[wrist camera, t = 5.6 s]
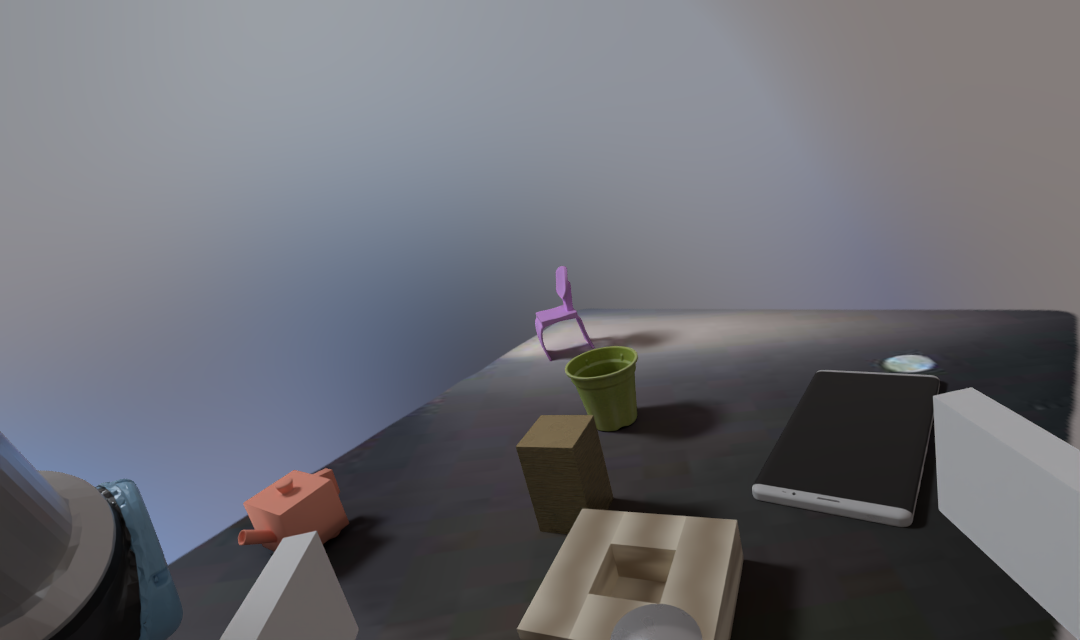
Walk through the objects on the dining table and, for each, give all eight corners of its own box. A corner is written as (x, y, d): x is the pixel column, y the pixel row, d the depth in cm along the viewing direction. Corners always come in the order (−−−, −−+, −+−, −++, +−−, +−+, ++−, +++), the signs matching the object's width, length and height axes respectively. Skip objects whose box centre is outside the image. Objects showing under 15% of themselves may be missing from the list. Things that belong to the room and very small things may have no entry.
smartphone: (941, 387, 69) (940, 373, 68) (912, 534, 49) (911, 517, 48) (817, 379, 77) (816, 367, 76) (751, 503, 57) (748, 488, 57)
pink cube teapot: (240, 573, 66) (210, 511, 64) (328, 507, 75) (305, 451, 73) (276, 591, 62) (246, 526, 59) (366, 519, 70) (343, 460, 68)
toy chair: (540, 349, 111) (520, 273, 106) (585, 336, 111) (567, 260, 107) (548, 364, 103) (527, 282, 98) (596, 350, 103) (577, 268, 99)
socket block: (530, 669, 45) (516, 628, 44) (591, 543, 57) (582, 508, 56) (718, 711, 39) (708, 665, 37) (743, 558, 50) (737, 520, 49)
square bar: (540, 531, 60) (515, 446, 57) (562, 494, 65) (540, 415, 62) (594, 536, 58) (572, 448, 55) (613, 498, 63) (593, 415, 60)
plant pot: (636, 441, 72) (622, 377, 70) (568, 437, 77) (552, 377, 74) (658, 403, 80) (647, 344, 77) (595, 402, 84) (582, 347, 82)
